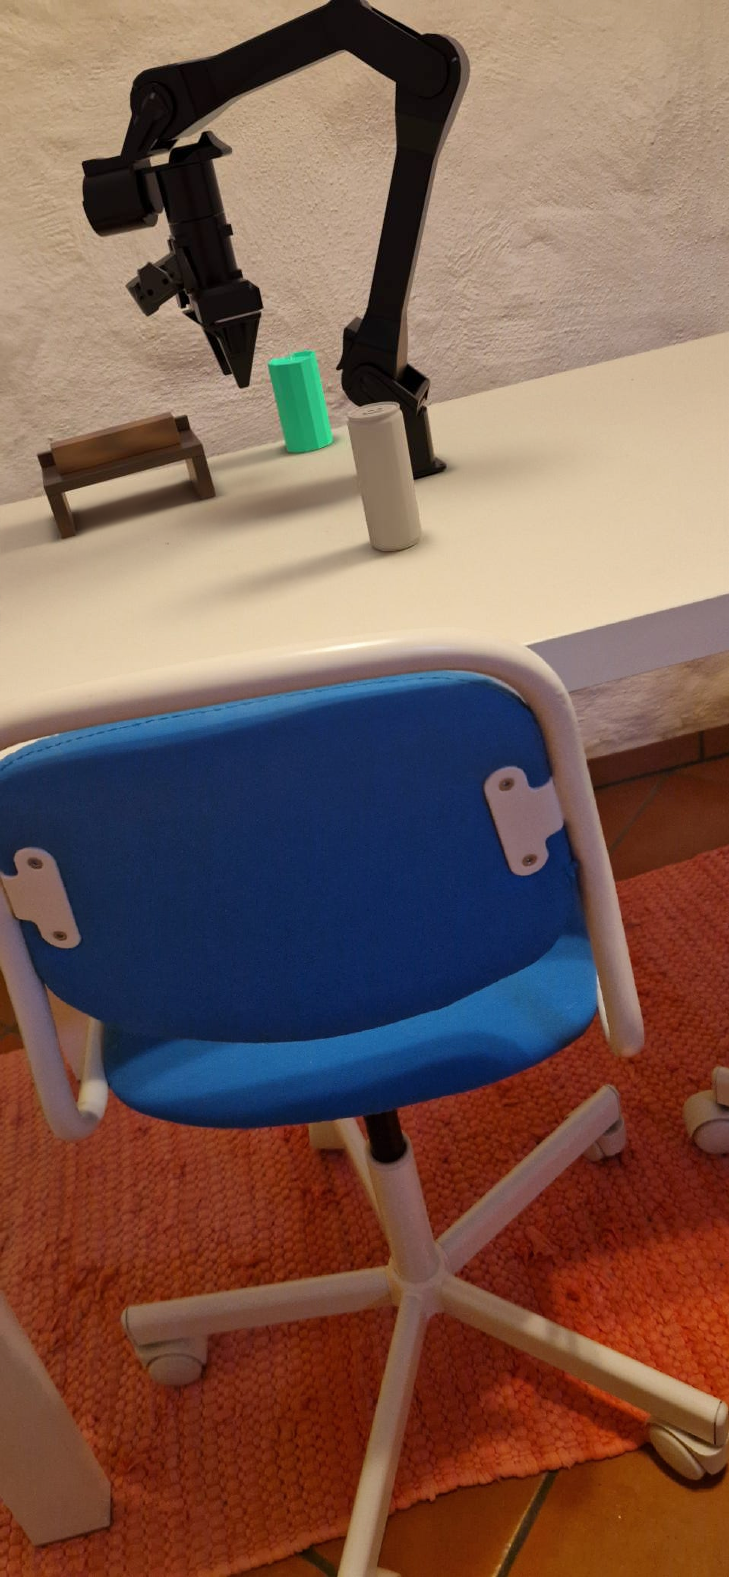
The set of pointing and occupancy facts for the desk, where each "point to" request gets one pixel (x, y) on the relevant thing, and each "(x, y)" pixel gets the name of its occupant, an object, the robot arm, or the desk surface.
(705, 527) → the desk surface
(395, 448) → the beverage can
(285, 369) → the candle
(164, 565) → the desk surface
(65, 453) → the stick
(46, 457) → the shelf
